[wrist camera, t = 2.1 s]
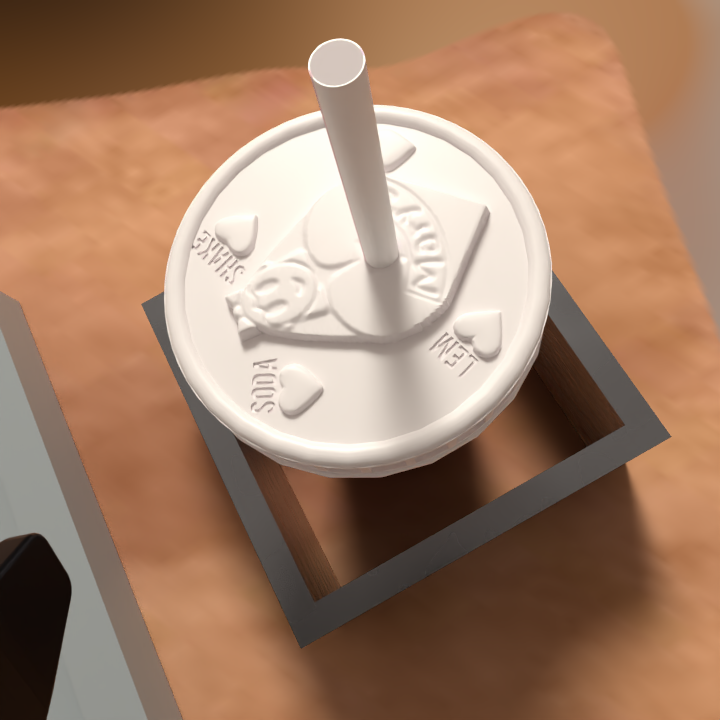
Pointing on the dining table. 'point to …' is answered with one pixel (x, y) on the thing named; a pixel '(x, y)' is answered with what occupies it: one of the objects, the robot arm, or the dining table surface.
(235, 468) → the cup holder
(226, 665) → the dining table surface
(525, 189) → the smoothie
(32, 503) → the tray
